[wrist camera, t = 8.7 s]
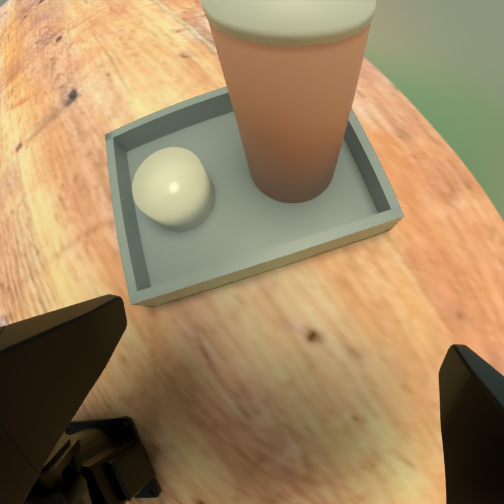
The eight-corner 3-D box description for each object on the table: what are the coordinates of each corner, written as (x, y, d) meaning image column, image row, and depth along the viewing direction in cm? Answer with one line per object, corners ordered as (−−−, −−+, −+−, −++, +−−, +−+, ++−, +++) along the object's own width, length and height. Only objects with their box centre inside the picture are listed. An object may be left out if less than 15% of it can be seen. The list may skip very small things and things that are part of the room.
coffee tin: (253, 209, 20) (202, 45, 7) (243, 134, 21) (199, -35, 8) (343, 197, 19) (405, 31, 7) (324, 123, 21) (344, -47, 8)
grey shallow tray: (151, 306, 20) (130, 304, 17) (123, 153, 23) (105, 134, 20) (389, 230, 19) (404, 216, 16) (321, 87, 22) (323, 61, 19)
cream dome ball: (158, 240, 20) (138, 228, 17) (146, 182, 21) (127, 163, 18) (223, 218, 20) (212, 201, 17) (206, 159, 21) (194, 136, 18)
